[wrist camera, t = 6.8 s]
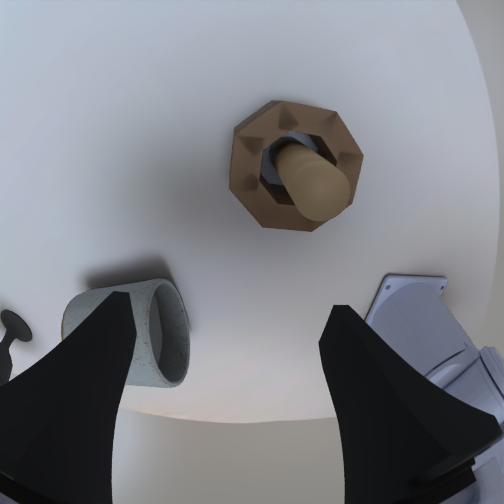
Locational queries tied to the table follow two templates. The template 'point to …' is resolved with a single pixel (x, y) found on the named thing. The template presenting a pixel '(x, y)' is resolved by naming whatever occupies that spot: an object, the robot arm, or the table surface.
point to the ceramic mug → (145, 330)
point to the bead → (268, 131)
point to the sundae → (17, 329)
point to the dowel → (310, 179)
